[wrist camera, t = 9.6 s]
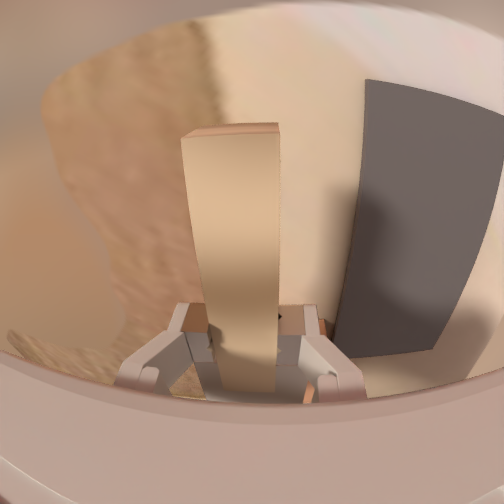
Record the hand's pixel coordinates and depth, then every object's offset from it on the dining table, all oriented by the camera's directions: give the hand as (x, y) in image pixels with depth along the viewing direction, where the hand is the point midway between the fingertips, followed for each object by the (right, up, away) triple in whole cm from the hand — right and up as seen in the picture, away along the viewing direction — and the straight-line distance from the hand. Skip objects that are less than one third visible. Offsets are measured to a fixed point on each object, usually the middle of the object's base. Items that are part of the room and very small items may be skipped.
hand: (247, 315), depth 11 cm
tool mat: (+12, +2, +7) cm, 14 cm away
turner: (0, -2, +2) cm, 3 cm away
